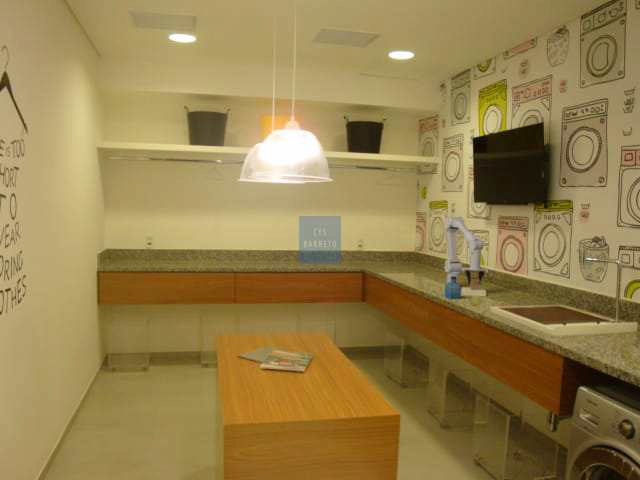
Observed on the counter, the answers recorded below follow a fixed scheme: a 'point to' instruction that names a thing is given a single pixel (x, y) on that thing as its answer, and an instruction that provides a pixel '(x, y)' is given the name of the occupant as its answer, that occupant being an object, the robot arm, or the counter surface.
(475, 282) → the walnut cube
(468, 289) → the base block
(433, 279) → the counter surface
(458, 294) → the perfume bottle
